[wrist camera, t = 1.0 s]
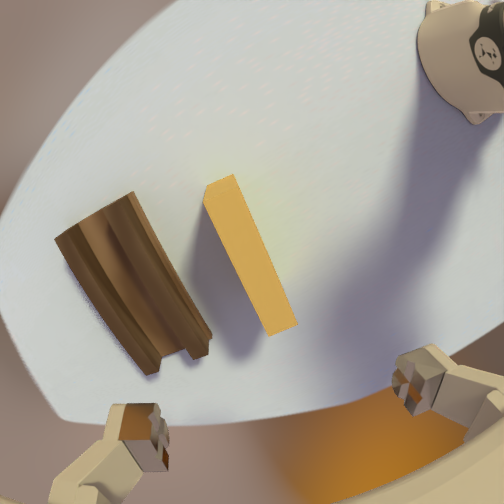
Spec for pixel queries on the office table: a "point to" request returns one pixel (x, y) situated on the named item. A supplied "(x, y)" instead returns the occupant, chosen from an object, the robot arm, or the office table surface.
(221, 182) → the door panel
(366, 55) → the office table surface
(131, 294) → the sliding track
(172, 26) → the office table surface
